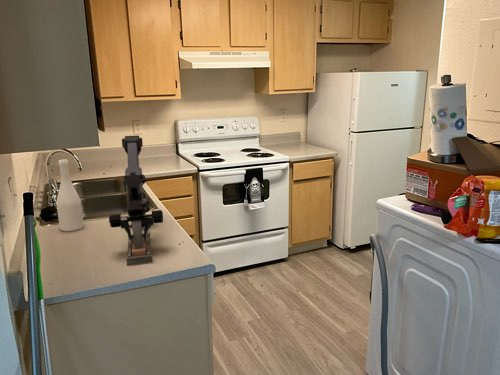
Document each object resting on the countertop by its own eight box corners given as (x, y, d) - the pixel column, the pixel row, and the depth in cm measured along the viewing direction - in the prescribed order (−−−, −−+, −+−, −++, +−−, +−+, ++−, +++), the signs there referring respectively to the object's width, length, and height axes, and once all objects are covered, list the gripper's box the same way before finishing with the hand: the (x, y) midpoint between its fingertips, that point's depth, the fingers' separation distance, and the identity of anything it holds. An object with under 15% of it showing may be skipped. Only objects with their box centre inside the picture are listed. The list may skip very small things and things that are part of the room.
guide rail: (128, 240, 162) (127, 233, 161) (150, 238, 164) (149, 231, 163) (126, 265, 140) (126, 257, 139) (152, 262, 142) (151, 254, 141)
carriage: (132, 249, 150) (129, 219, 147) (146, 247, 151) (143, 217, 148) (132, 256, 143) (129, 225, 140) (146, 255, 144) (143, 224, 142)
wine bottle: (64, 224, 180) (55, 158, 173) (86, 223, 181) (78, 157, 174) (56, 232, 171) (46, 162, 164) (80, 231, 172) (71, 161, 165)
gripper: (106, 192, 143) (107, 233, 135) (160, 188, 148) (164, 227, 140) (110, 207, 152) (111, 246, 145) (161, 203, 157) (164, 240, 149)
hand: (138, 240), depth 145 cm, fingers open, 4 cm apart
